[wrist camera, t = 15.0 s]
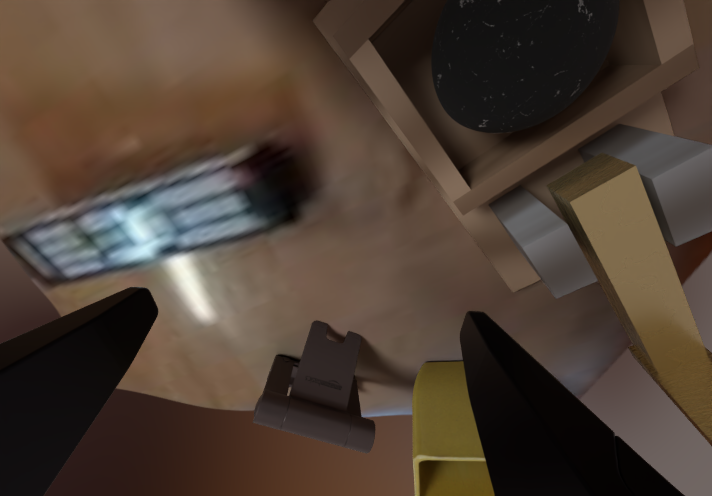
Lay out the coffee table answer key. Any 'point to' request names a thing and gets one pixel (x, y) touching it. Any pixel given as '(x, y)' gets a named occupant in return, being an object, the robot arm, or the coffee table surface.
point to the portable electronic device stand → (318, 393)
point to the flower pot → (446, 435)
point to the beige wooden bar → (638, 279)
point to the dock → (535, 133)
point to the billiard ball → (517, 58)
